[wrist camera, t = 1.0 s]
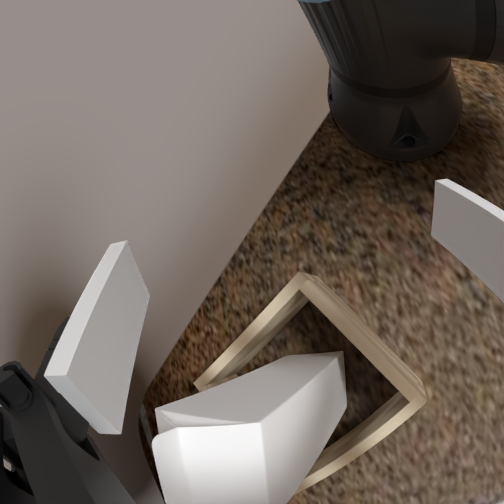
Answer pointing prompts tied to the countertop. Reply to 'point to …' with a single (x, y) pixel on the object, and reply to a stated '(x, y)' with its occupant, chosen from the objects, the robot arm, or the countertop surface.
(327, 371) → the milk
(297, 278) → the holder
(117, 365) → the robot arm
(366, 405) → the countertop surface
